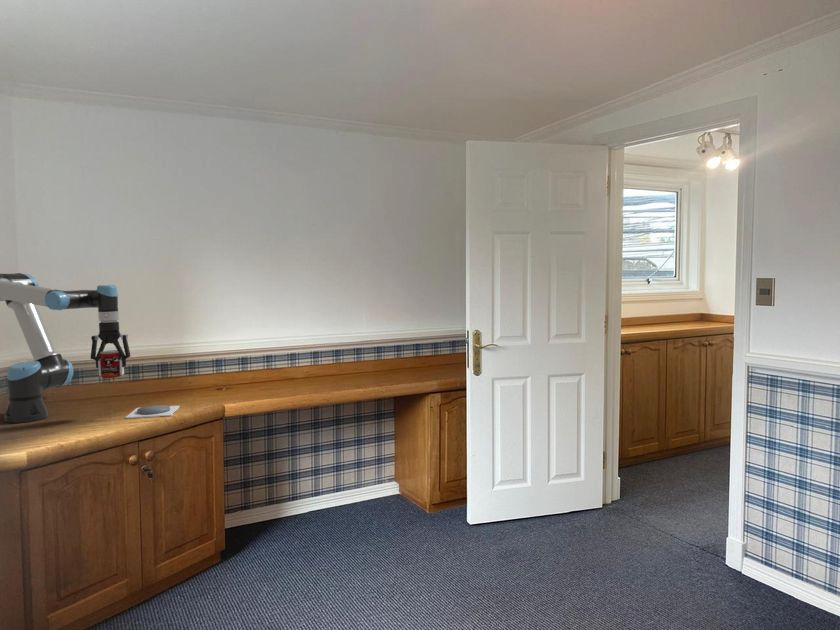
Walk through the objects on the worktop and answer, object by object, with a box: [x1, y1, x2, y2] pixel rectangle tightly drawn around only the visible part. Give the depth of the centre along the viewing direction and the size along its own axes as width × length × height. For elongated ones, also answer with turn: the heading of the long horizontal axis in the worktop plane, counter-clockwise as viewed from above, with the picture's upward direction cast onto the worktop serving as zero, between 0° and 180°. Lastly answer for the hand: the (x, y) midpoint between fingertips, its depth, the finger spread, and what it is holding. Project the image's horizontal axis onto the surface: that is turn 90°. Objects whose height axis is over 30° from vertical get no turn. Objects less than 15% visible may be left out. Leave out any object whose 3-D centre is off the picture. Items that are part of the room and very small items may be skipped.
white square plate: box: [125, 404, 180, 420], centre depth 256 cm, size 18×18×2 cm
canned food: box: [100, 349, 122, 379], centre depth 250 cm, size 8×8×11 cm
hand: (111, 374), depth 251 cm, fingers closed on canned food, 8 cm apart
